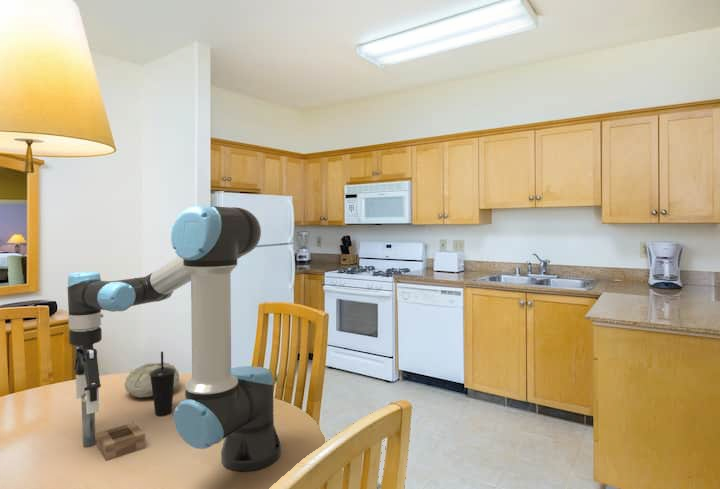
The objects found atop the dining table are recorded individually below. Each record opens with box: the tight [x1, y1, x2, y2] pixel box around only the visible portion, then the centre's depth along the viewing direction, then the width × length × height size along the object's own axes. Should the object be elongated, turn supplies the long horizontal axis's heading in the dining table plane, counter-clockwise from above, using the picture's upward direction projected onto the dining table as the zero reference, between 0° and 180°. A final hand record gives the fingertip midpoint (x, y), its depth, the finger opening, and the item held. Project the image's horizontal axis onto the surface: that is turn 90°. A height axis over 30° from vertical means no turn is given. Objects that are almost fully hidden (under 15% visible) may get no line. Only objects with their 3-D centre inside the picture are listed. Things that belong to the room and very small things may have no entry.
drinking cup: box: [149, 351, 175, 417], centre depth 140 cm, size 8×8×20 cm
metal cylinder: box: [80, 394, 97, 448], centre depth 120 cm, size 3×3×14 cm
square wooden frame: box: [96, 421, 146, 462], centre depth 119 cm, size 9×9×4 cm
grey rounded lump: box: [124, 362, 180, 398], centre depth 157 cm, size 18×18×10 cm
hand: (87, 404), depth 120 cm, fingers open, 13 cm apart
